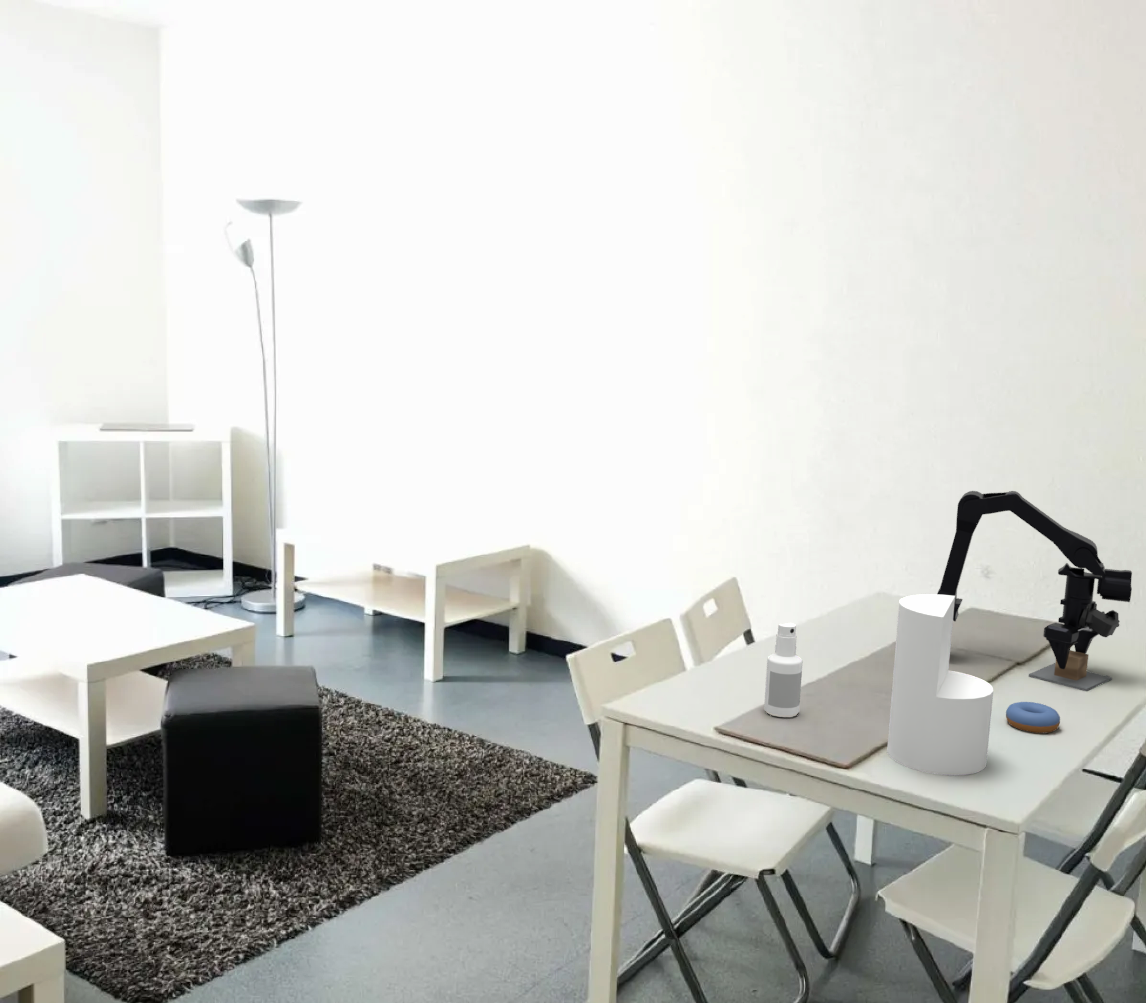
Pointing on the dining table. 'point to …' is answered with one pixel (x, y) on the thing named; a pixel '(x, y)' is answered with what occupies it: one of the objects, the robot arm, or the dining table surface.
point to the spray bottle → (784, 674)
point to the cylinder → (935, 695)
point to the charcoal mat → (1082, 684)
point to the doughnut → (1032, 717)
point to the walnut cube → (1073, 666)
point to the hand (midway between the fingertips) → (1071, 664)
